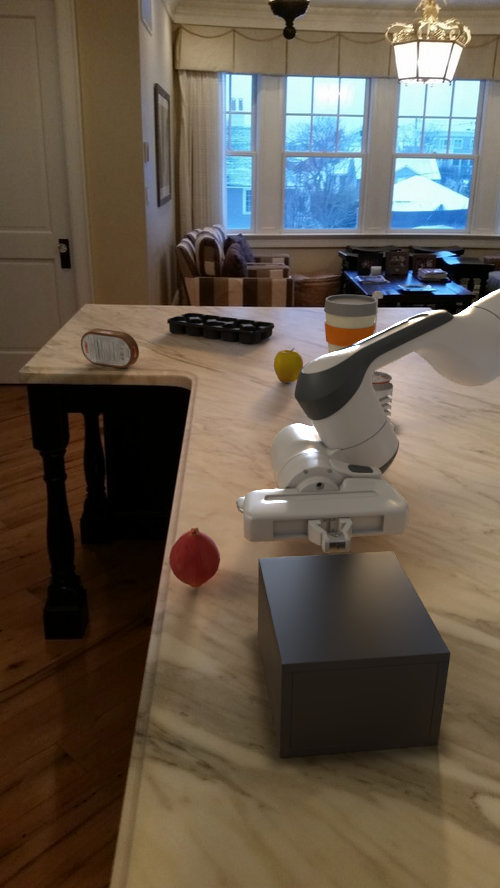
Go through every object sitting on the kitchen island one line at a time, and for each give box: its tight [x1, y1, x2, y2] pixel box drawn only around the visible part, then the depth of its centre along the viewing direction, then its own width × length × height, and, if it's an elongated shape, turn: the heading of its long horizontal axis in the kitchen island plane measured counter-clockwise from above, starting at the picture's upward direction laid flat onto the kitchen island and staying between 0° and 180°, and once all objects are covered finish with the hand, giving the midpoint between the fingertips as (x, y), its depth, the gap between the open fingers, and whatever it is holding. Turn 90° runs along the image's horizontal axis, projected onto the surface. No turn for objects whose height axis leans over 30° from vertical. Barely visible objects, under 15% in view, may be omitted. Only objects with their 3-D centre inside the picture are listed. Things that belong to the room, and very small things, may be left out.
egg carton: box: [166, 312, 275, 345], centre depth 195 cm, size 18×30×4 cm, turn 72°
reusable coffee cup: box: [323, 294, 378, 353], centre depth 168 cm, size 13×13×15 cm
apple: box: [273, 348, 304, 384], centre depth 154 cm, size 6×6×8 cm
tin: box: [80, 327, 140, 369], centre depth 165 cm, size 15×3×8 cm, turn 65°
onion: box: [168, 526, 221, 589], centre depth 81 cm, size 6×6×8 cm
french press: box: [371, 290, 396, 431], centre depth 125 cm, size 10×12×25 cm
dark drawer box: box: [257, 550, 451, 759], centre depth 65 cm, size 16×14×10 cm
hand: (337, 546), depth 79 cm, fingers closed
